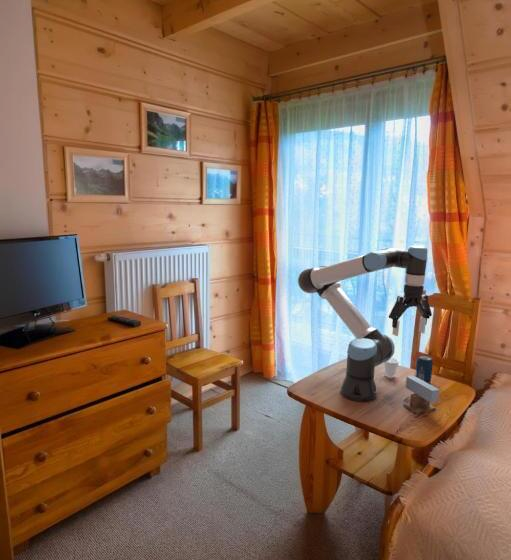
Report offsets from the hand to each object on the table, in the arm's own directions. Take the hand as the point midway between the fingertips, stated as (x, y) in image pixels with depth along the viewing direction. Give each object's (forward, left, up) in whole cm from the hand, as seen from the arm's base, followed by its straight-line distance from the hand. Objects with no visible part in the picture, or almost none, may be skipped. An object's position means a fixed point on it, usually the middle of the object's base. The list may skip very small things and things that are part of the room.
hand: (408, 333), depth 180 cm
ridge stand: (-1, -12, -28) cm, 30 cm away
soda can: (+19, +7, -28) cm, 34 cm away
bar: (-1, -12, -22) cm, 25 cm away
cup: (+9, +19, -28) cm, 35 cm away
